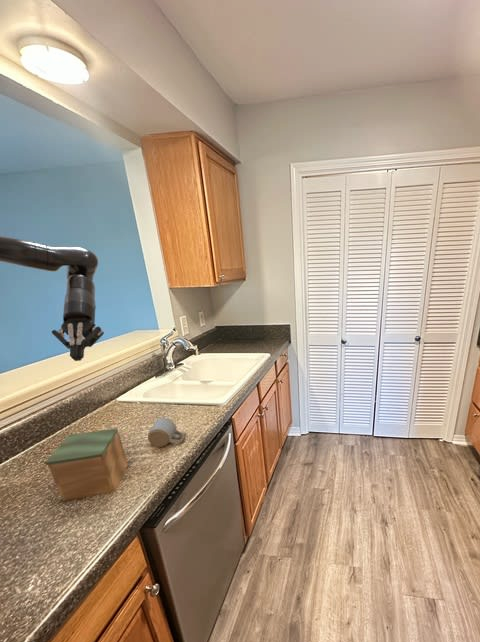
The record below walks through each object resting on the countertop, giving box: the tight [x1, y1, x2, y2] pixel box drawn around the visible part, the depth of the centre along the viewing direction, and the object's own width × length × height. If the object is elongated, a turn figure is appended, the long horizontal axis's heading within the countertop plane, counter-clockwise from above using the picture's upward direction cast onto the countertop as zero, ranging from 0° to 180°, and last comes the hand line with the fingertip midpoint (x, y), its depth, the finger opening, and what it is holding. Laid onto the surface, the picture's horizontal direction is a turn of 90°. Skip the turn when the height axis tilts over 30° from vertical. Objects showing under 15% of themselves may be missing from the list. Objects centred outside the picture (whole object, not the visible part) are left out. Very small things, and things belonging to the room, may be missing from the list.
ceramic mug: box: [147, 417, 185, 448], centre depth 111 cm, size 11×8×8 cm
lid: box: [44, 427, 119, 466], centre depth 86 cm, size 14×13×1 cm
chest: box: [47, 430, 129, 501], centre depth 89 cm, size 14×13×13 cm
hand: (76, 359), depth 88 cm, fingers closed
